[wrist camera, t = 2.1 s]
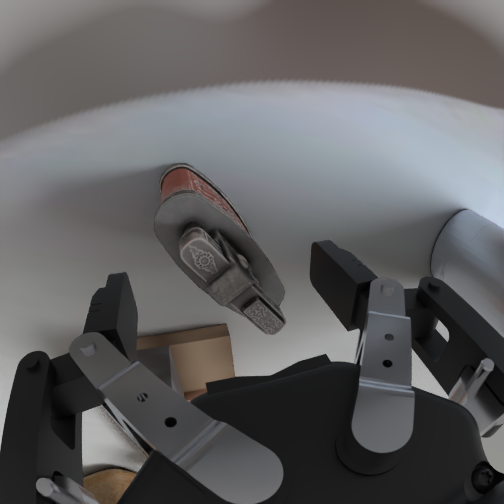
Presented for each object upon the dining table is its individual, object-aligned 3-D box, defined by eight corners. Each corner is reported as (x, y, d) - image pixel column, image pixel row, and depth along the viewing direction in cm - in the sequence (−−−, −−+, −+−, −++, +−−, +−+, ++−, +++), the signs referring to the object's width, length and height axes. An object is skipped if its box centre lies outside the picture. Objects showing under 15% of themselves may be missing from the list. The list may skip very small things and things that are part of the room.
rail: (226, 323, 25) (247, 393, 19) (244, 451, 37) (257, 493, 31) (82, 343, 23) (69, 412, 16) (158, 463, 35) (164, 506, 28)
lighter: (148, 186, 19) (129, 257, 10) (187, 151, 18) (200, 192, 10) (225, 264, 23) (261, 362, 14) (260, 235, 22) (318, 321, 14)
